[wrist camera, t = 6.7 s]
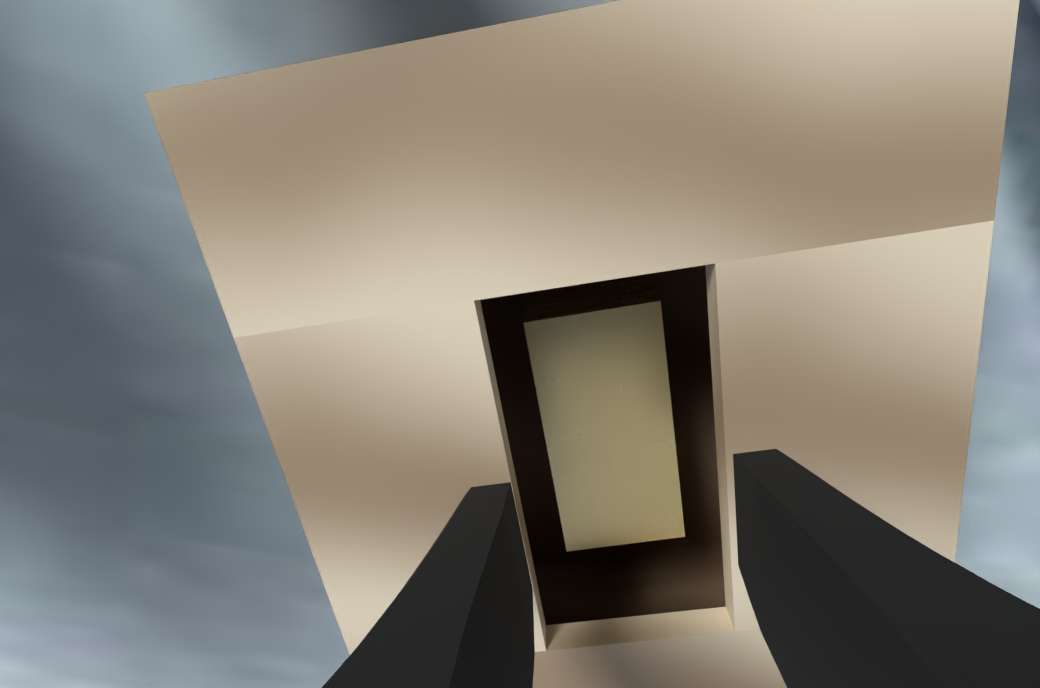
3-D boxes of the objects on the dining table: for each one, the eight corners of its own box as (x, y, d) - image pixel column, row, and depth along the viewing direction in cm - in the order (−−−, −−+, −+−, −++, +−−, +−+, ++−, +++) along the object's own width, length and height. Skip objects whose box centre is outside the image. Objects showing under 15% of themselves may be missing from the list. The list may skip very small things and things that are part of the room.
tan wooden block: (651, 437, 16) (685, 536, 12) (560, 449, 16) (566, 551, 12) (629, 251, 14) (660, 301, 10) (528, 268, 14) (523, 322, 11)
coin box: (809, 541, 18) (933, 744, 12) (440, 582, 19) (398, 787, 13) (811, 1, 13) (1028, -80, 7) (306, 97, 14) (143, 92, 8)
